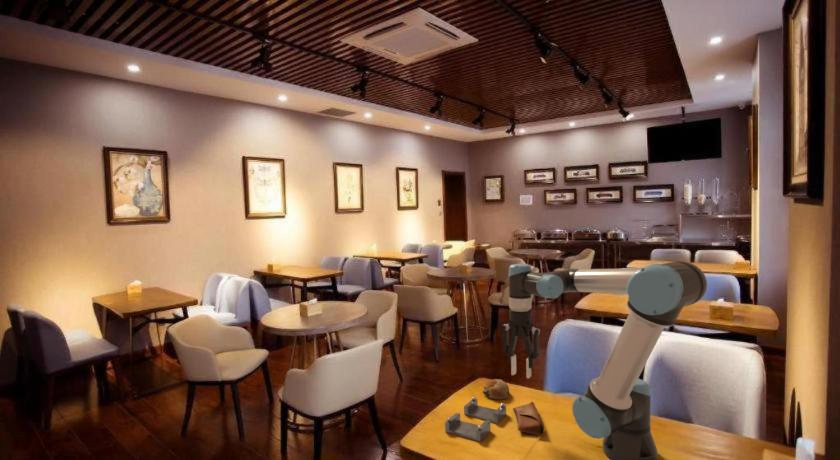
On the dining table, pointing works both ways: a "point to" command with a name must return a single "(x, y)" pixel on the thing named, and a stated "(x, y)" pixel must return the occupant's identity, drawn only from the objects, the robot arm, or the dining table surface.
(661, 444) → the dining table surface
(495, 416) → the bent steel plates
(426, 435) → the dining table surface
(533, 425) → the sunglasses case
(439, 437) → the dining table surface
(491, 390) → the bread roll
